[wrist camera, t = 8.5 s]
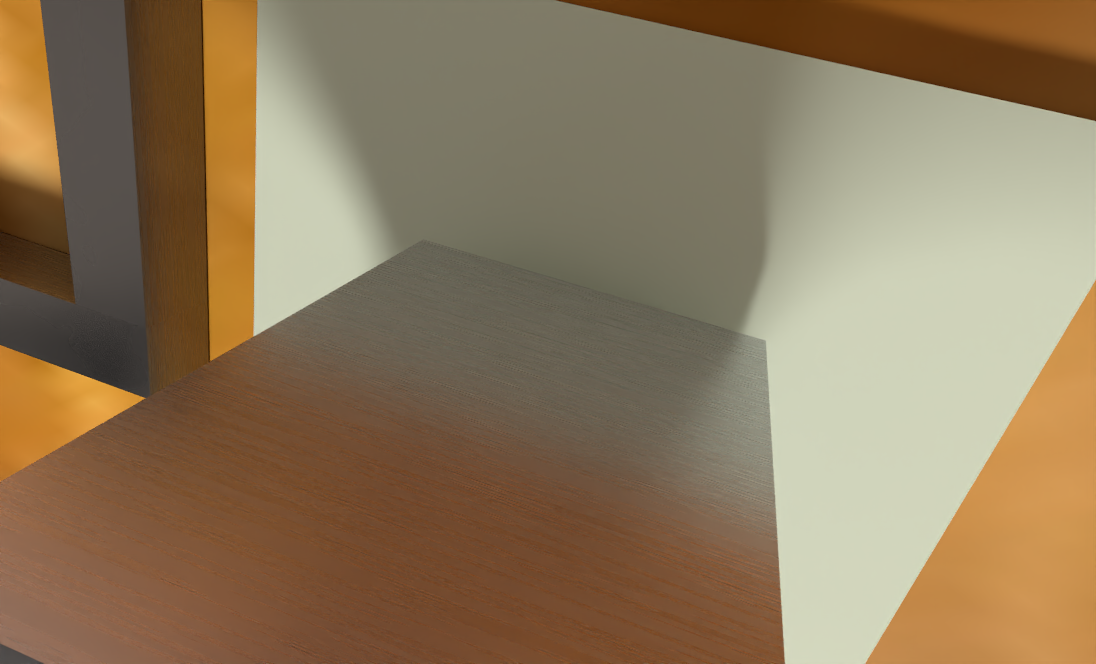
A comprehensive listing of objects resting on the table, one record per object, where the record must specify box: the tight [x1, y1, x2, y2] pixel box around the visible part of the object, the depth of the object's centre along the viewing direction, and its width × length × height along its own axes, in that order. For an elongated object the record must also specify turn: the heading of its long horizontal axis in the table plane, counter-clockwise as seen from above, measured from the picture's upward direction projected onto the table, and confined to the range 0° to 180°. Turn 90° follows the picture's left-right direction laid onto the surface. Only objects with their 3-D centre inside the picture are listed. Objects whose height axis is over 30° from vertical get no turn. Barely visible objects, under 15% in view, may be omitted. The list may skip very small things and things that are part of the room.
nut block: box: [0, 239, 785, 664], centre depth 7 cm, size 5×5×7 cm
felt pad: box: [254, 0, 1096, 664], centre depth 11 cm, size 12×12×1 cm
